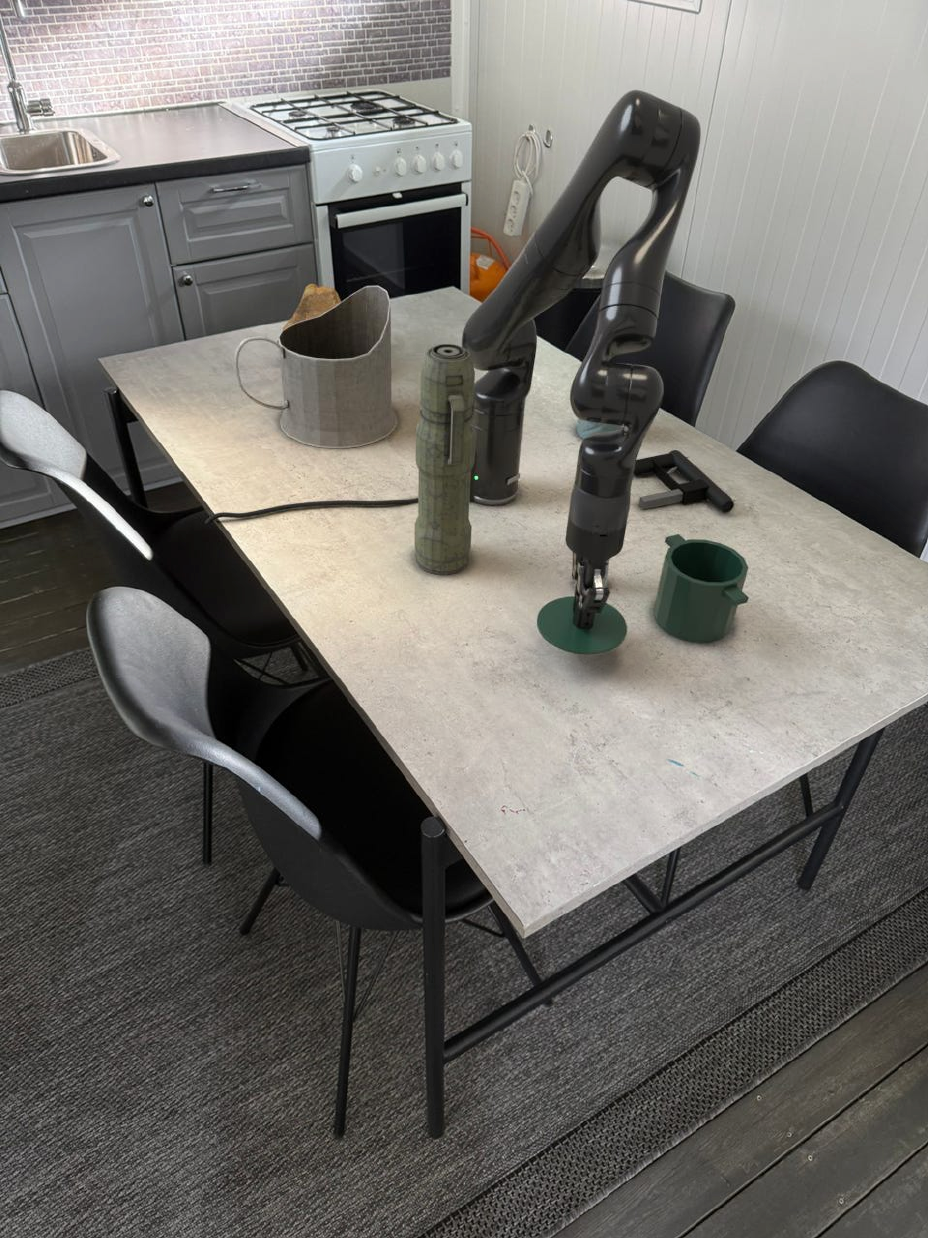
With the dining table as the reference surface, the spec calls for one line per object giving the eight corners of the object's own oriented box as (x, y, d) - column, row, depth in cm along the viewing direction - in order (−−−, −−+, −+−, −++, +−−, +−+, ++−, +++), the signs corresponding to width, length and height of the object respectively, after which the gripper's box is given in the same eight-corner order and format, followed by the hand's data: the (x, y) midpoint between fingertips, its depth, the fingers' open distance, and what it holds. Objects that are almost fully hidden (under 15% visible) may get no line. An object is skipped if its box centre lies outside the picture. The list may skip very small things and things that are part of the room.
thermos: (431, 585, 141) (435, 371, 119) (403, 545, 149) (402, 338, 128) (482, 573, 144) (496, 362, 122) (452, 535, 153) (460, 331, 131)
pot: (693, 662, 129) (708, 604, 123) (629, 595, 141) (640, 538, 135) (758, 643, 133) (777, 585, 127) (691, 579, 145) (704, 523, 139)
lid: (563, 667, 121) (568, 632, 118) (520, 613, 130) (524, 579, 126) (643, 645, 126) (650, 610, 122) (596, 594, 135) (602, 560, 131)
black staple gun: (661, 515, 156) (742, 497, 160) (608, 460, 170) (683, 444, 174) (658, 531, 158) (738, 513, 162) (606, 475, 172) (681, 460, 176)
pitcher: (417, 431, 181) (418, 307, 165) (268, 469, 167) (254, 336, 152) (363, 387, 196) (360, 269, 180) (222, 418, 182) (205, 293, 167)
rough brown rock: (270, 351, 211) (258, 288, 201) (338, 337, 216) (331, 274, 206) (297, 396, 195) (286, 329, 185) (370, 379, 200) (363, 314, 190)
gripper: (560, 486, 121) (548, 590, 132) (578, 545, 110) (563, 653, 121) (615, 486, 122) (599, 589, 133) (639, 544, 111) (619, 652, 122)
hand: (582, 619), depth 127 cm, fingers closed on lid, 2 cm apart
